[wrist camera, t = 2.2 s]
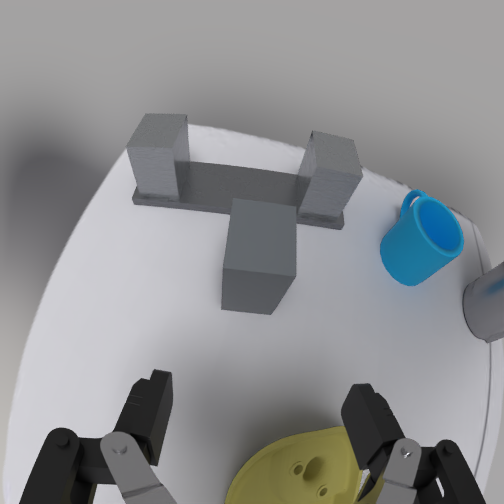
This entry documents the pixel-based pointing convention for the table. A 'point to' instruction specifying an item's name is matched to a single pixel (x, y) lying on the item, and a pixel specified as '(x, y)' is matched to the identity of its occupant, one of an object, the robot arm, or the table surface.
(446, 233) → the mug
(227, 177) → the rail
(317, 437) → the plastic component
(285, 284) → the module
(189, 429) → the table surface
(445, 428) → the table surface
